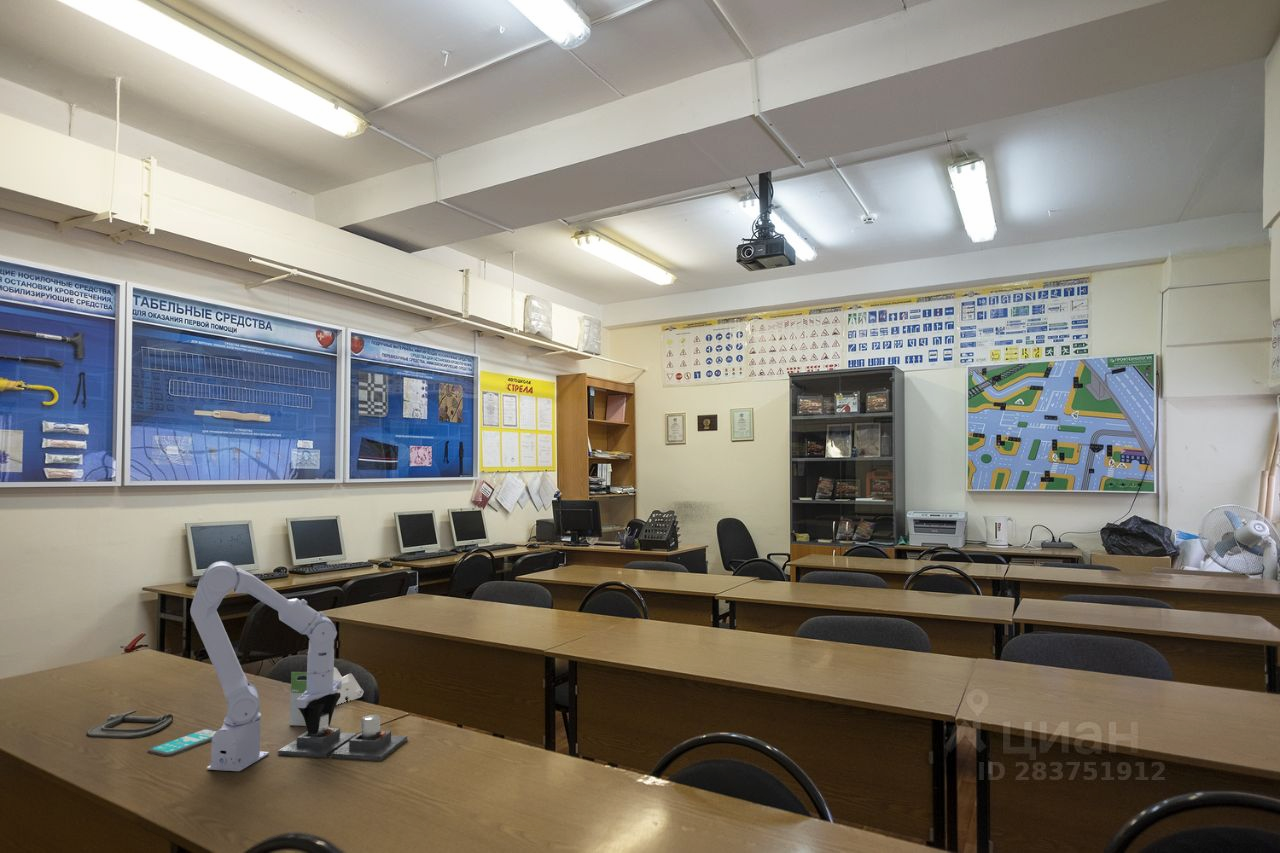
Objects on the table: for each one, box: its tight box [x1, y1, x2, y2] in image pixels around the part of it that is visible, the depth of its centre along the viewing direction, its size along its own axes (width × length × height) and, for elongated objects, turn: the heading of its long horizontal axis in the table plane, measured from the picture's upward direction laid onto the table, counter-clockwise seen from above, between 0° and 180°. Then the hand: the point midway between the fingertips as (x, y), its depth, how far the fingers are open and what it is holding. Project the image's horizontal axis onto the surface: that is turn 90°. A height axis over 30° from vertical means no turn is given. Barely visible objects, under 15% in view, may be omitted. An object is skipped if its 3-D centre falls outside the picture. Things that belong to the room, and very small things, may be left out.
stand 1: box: [277, 727, 358, 759], centre depth 160 cm, size 12×12×4 cm
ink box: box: [288, 671, 307, 727], centre depth 175 cm, size 7×4×13 cm, turn 84°
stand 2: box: [330, 729, 408, 762], centre depth 158 cm, size 12×12×4 cm
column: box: [360, 714, 381, 740], centre depth 158 cm, size 4×4×6 cm
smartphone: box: [147, 727, 220, 757], centre depth 162 cm, size 9×1×15 cm
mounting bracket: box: [333, 666, 365, 706], centre depth 193 cm, size 12×6×11 cm, turn 148°
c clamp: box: [86, 709, 174, 739], centre depth 174 cm, size 20×17×3 cm
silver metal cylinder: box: [309, 712, 329, 737], centre depth 160 cm, size 4×4×6 cm
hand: (318, 729), depth 160 cm, fingers closed on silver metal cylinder, 4 cm apart
